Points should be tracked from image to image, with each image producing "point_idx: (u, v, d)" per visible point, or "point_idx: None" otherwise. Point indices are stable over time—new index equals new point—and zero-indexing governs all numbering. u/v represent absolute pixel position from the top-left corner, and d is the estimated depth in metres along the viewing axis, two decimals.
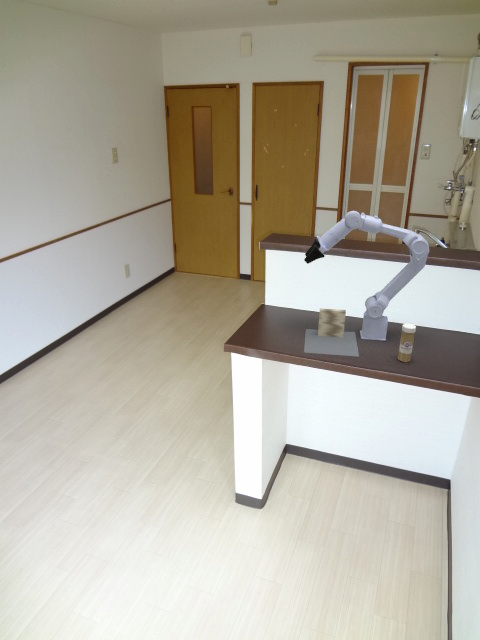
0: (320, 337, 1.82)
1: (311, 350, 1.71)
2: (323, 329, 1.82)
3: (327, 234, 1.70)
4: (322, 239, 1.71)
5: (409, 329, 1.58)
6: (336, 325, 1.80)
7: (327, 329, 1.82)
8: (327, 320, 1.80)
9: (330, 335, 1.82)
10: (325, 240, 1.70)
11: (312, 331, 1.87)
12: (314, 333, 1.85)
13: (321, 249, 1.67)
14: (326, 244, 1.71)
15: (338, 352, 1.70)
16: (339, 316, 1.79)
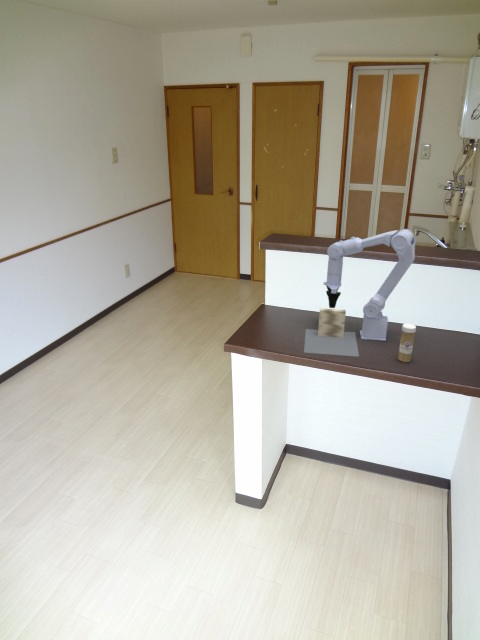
0: (320, 337, 1.82)
1: (311, 350, 1.71)
2: (323, 329, 1.82)
3: (328, 276, 1.82)
4: (328, 282, 1.83)
5: (409, 329, 1.58)
6: (336, 325, 1.80)
7: (327, 329, 1.82)
8: (327, 320, 1.80)
9: (330, 335, 1.82)
10: (330, 281, 1.82)
11: (312, 331, 1.87)
12: (314, 333, 1.85)
13: (332, 291, 1.78)
14: (334, 283, 1.81)
15: (338, 352, 1.70)
16: (339, 316, 1.79)
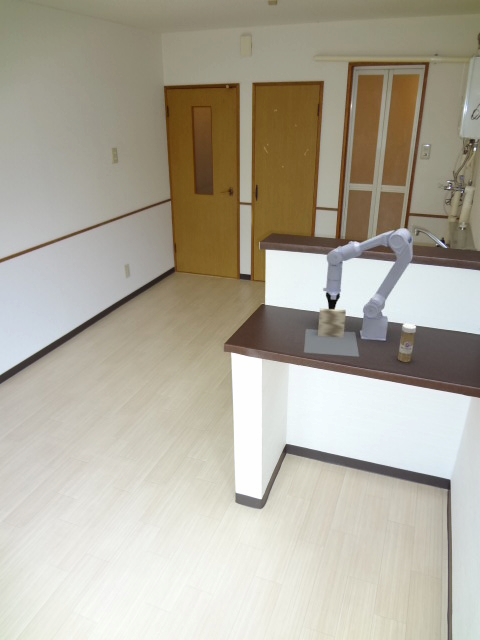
0: (320, 337, 1.82)
1: (311, 350, 1.71)
2: (323, 329, 1.82)
3: (328, 282, 1.83)
4: (328, 288, 1.84)
5: (409, 329, 1.58)
6: (336, 325, 1.80)
7: (327, 329, 1.82)
8: (327, 320, 1.80)
9: (330, 335, 1.82)
10: (330, 287, 1.83)
11: (312, 331, 1.87)
12: (314, 333, 1.85)
13: (332, 297, 1.79)
14: (334, 289, 1.82)
15: (338, 352, 1.70)
16: (339, 316, 1.79)
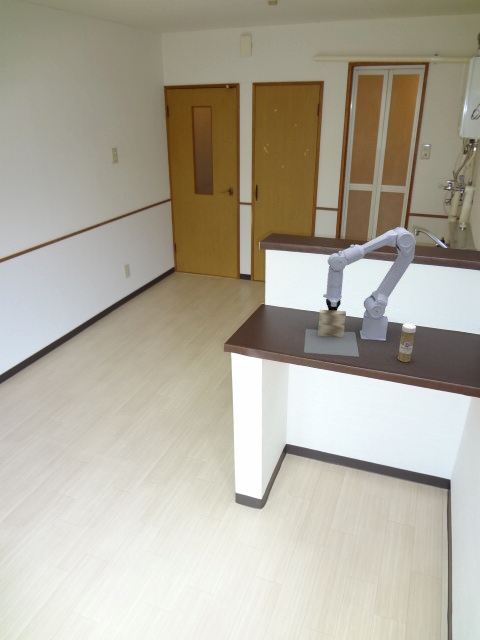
0: (320, 337, 1.82)
1: (311, 350, 1.71)
2: (323, 330, 1.82)
3: (328, 288, 1.76)
4: (328, 295, 1.76)
5: (409, 329, 1.58)
6: (336, 326, 1.80)
7: (327, 330, 1.81)
8: (327, 321, 1.79)
9: (330, 335, 1.82)
10: (330, 294, 1.75)
11: (312, 331, 1.87)
12: (314, 333, 1.85)
13: (332, 304, 1.72)
14: (334, 296, 1.75)
15: (338, 352, 1.70)
16: (339, 318, 1.78)
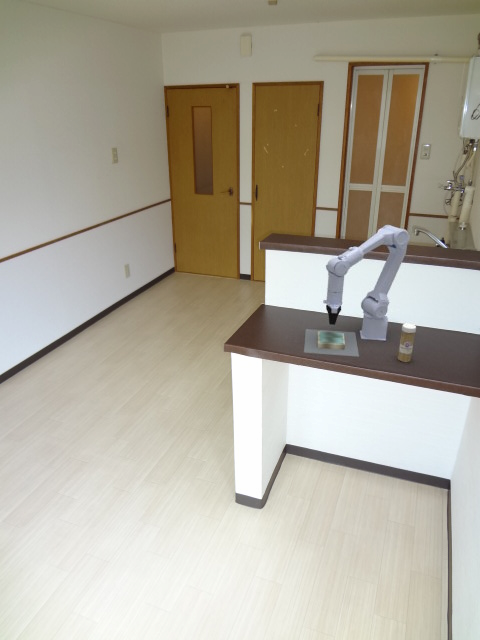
0: None
1: (311, 350, 1.71)
2: None
3: (328, 294, 1.70)
4: (328, 301, 1.70)
5: (409, 329, 1.58)
6: None
7: None
8: None
9: None
10: (331, 300, 1.69)
11: (312, 331, 1.87)
12: (314, 333, 1.85)
13: (333, 311, 1.66)
14: (335, 302, 1.69)
15: (338, 352, 1.70)
16: None
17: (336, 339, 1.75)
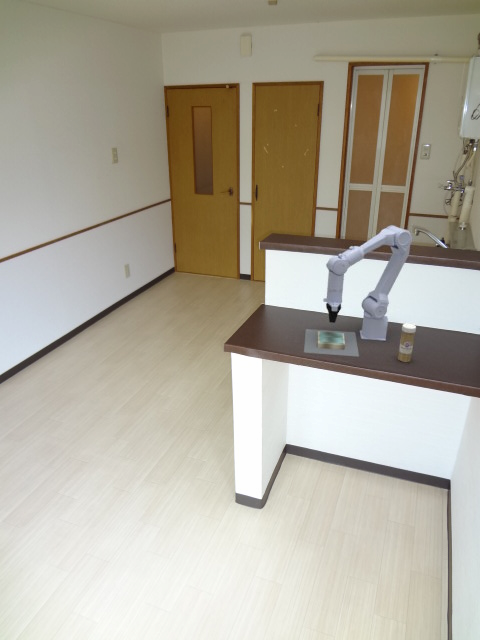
0: None
1: (311, 350, 1.71)
2: None
3: (328, 292, 1.71)
4: (328, 299, 1.72)
5: (409, 329, 1.58)
6: None
7: None
8: None
9: None
10: (331, 298, 1.71)
11: (312, 331, 1.87)
12: (314, 333, 1.85)
13: (333, 309, 1.68)
14: (335, 300, 1.71)
15: (338, 352, 1.70)
16: None
17: (336, 339, 1.75)
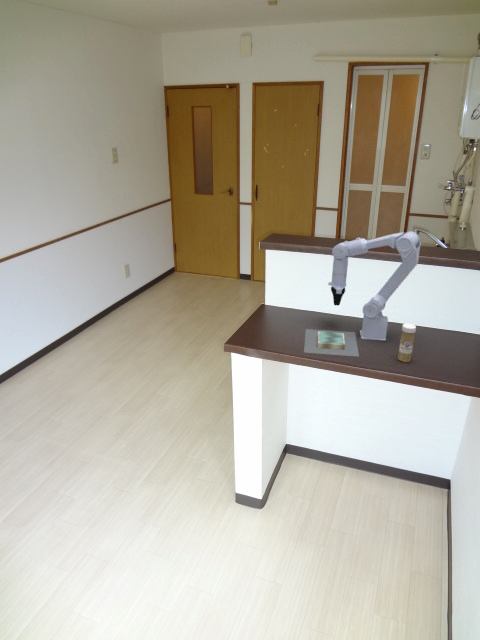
0: None
1: (311, 350, 1.71)
2: None
3: (333, 276, 1.82)
4: (333, 283, 1.82)
5: (409, 329, 1.58)
6: None
7: None
8: None
9: None
10: (335, 282, 1.81)
11: (312, 331, 1.87)
12: (314, 333, 1.85)
13: (337, 291, 1.78)
14: (339, 283, 1.81)
15: (338, 352, 1.70)
16: None
17: (336, 339, 1.75)
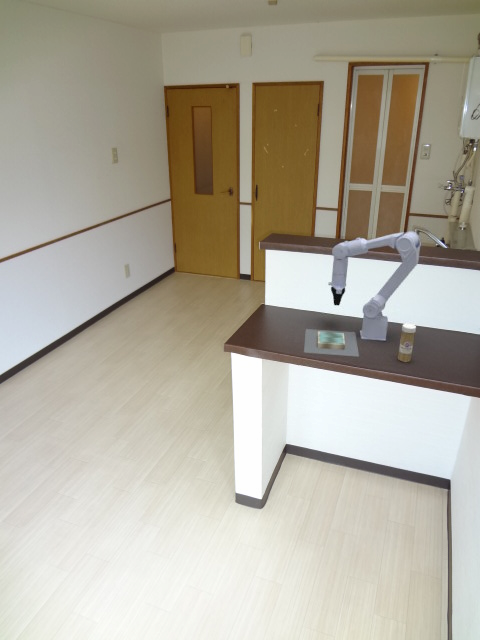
0: None
1: (311, 350, 1.71)
2: None
3: (333, 276, 1.82)
4: (333, 283, 1.82)
5: (409, 329, 1.58)
6: None
7: None
8: None
9: None
10: (335, 282, 1.81)
11: (312, 331, 1.87)
12: (314, 333, 1.85)
13: (337, 291, 1.78)
14: (339, 283, 1.81)
15: (338, 352, 1.70)
16: None
17: (336, 339, 1.75)
